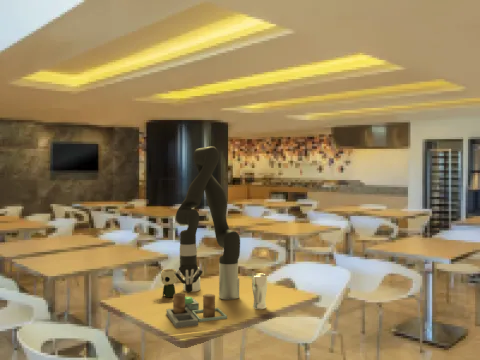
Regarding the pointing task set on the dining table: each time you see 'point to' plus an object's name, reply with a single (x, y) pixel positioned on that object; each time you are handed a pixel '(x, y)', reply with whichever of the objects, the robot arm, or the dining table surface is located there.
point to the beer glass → (259, 290)
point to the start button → (188, 300)
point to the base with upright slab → (194, 284)
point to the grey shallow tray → (182, 318)
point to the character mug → (168, 282)
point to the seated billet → (178, 303)
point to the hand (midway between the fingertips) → (188, 292)
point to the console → (192, 305)
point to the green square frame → (210, 317)
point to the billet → (208, 305)
